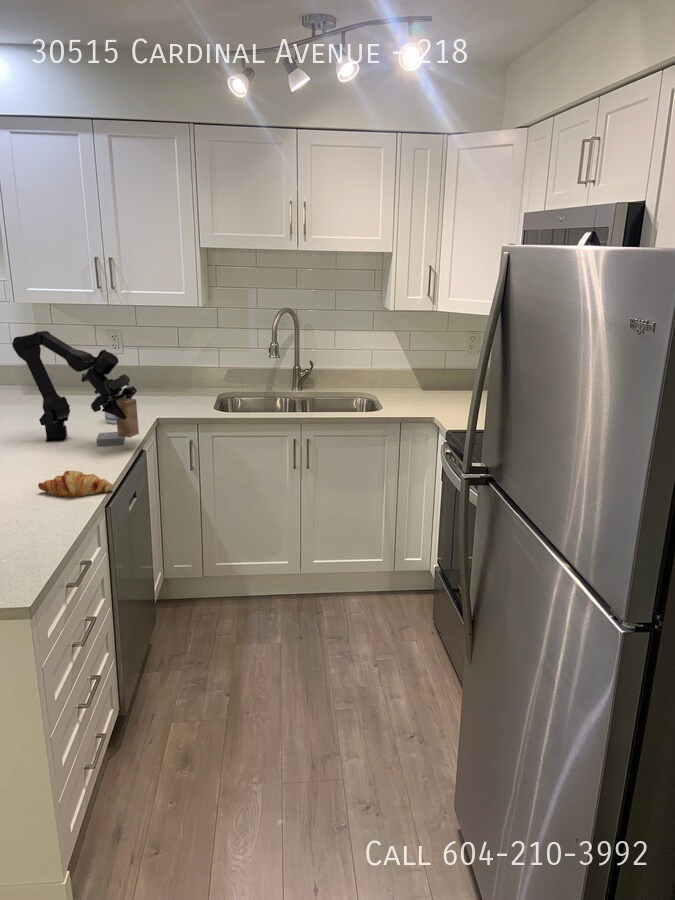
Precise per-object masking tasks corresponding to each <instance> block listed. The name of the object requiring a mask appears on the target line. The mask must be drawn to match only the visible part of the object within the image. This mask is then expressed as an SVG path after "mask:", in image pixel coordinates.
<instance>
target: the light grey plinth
mask: <svg viewBox="0 0 675 900" xmlns="http://www.w3.org/2000/svg"><path fill="white" fill-rule="evenodd" d="M125 440H126V437H122V436H118V431H111V432H110V431H109V432H107V431H106V432H98V434H97V437H96V447H107V446H122V445H124V444H125Z"/></svg>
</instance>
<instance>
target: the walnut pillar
mask: <svg viewBox="0 0 675 900" xmlns="http://www.w3.org/2000/svg"><path fill="white" fill-rule="evenodd" d="M116 403H117V406H118V407H119V408H120V409H121V411H122V412H123V413H124V415H125V416H126V419H125V420H123V419H121V418H119V417H117V416H116V420H117V424H116V427H117V429H116V430H117V432H118V436H122V437H125V438H132V437H134V436H136V435H137V436H138V435H139V434H140V431H139V430H140V429H139V420H138V419H139V417H138V407H137V406H138V405H137V398H131V399H129V398H123V399H119V400H116Z"/></svg>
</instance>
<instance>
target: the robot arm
mask: <svg viewBox="0 0 675 900" xmlns="http://www.w3.org/2000/svg"><path fill="white" fill-rule="evenodd" d="M41 346H43V347H45V348H46V349H48V350H50V351H51V352H53V353H55V354H56V355H58V356H59V357H61V358H63V359H64V360H65V361H66V363H67V365H68V366H69V367H70V368H71V369H72V370H74V371H75V372H77V373H81V372H84V371H86V372H85V373H82V374H81V382H82V383H85V382H89V384H90V385H91V386H92V387H93V388H94V394H95V395H98V394H99V395H98V396H96V398H94V400H93V401H92V403H91V404H90V407H91V410H92V411H93V412H94V413H97V412H99V411H101V412H104V413H105V412H107V413H110V414H112V415H115V416H117V417H119V418H121V419H123V420H125V419H126V416H125V415H124V413H123V412H122V411H121V409H120V408H119V407H118V406H117V403H116V400H119V399H123V398H129V399H133V397H134V396H135V394H136V393H138V390H137V389H136V387H135V386H129V385H130V382H131V379H130V377H129V376H128V375H127V374H126V373H123V374H121V375H119V377H117V378H115V379H113V378H110V379H109V378H108V377H107V375H110V374H111V372H112V371H113V370H114V369H115V367H117V365H118V363H119V361H120V360H119V358H118V357H117V355H115V354H114V353H112V352H110V351H107V350H106V349H102V350H99V353H98V354H97V356H94V355H93V354H91V353H90V352H87V351H85V350H81V349H76V348H74V347H73V346H70V345H69V344H67V343H66V342H64V341H62V340H61V339H59V338H58V337H56V336H55V335H52V334H51V333H50V332H49V331H48V330H41V331H36V332H34V333H32V334H27V335H20V336H16V337H14V338H13V340H12V348H13V350H14V352H15V353H16V355H17V356H18V357H19V358H20V359H22V360H23V361H24V362H25V364H26V365H27V368H28V369H29V372H30V373H31V376H32V378H33V379H34V382H35V384H36V386H37V389H38V391H39V392H40V394H41V398H42V399H43V400H42V409H43V414H42V416H41V417H40V418H39V420H38V421H39V423H40V425H41V426H44V427H45V428H44V430H45V437H46V439H45V442H63V441H66V439H67V438H68V428H67V425H65V423H66V422H68V420H69V416H70V413H71V408H70V406H71V405H70V404H69V402H68V399H67V398H66V397H65V396H61V395H59V394H58V393H57V391H56V389H55V387H54V385H53V382H52V380H51V378H50V376H49V373H48V371H47V369H46V367H45V366H44V363H43V361H42V358H41V350H42V349H41ZM126 385H127V388H125V389H124V390H123V391H122V392H121V393H119V392H120V391H121V390H122V387H124V386H126ZM101 406H102V407H101Z"/></svg>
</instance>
